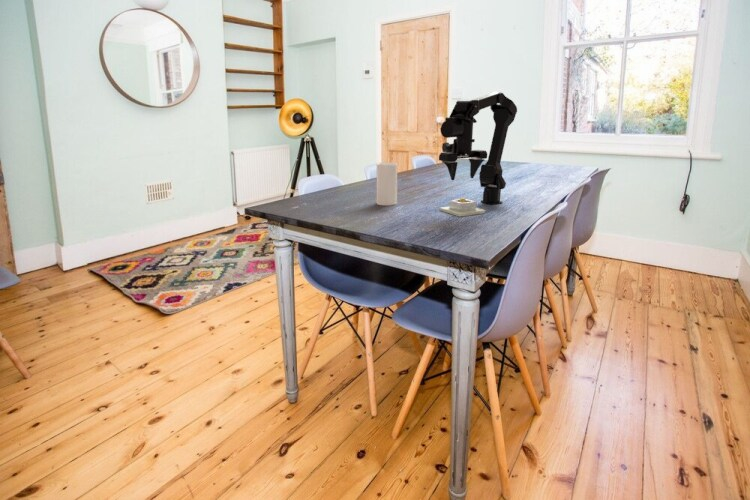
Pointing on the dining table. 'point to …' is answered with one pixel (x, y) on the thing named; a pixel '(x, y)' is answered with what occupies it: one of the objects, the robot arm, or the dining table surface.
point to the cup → (386, 183)
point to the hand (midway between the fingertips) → (462, 179)
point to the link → (462, 205)
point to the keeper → (464, 213)
